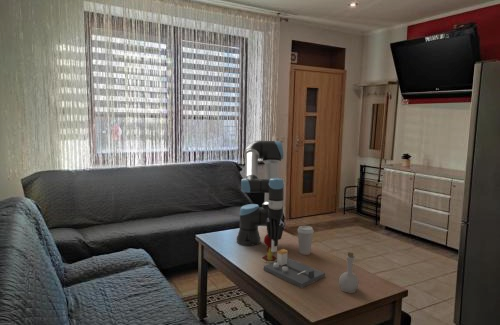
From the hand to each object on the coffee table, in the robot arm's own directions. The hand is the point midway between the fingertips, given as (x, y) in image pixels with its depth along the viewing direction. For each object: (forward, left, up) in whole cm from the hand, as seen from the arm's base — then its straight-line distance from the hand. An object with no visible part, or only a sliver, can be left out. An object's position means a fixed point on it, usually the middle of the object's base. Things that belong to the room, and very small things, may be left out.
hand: (273, 251), depth 184 cm
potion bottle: (+41, +7, -8) cm, 42 cm away
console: (+14, 0, -7) cm, 16 cm away
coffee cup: (0, +27, -8) cm, 28 cm away
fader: (+6, 0, -5) cm, 8 cm away
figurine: (-6, +3, -8) cm, 10 cm away
